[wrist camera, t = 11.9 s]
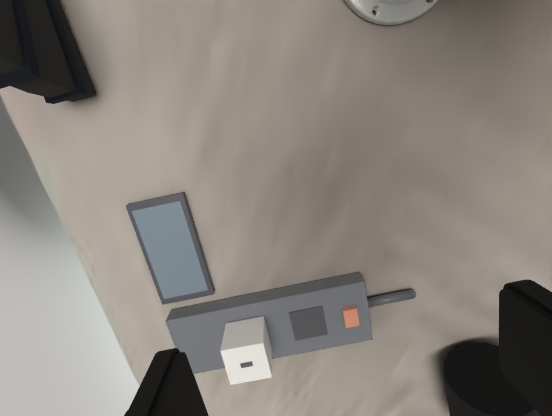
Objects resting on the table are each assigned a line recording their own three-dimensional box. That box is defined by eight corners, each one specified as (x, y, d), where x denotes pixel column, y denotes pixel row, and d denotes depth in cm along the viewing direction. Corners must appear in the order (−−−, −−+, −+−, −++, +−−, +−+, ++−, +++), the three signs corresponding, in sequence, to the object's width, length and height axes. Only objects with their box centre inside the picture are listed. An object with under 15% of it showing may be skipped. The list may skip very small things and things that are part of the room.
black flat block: (72, 133, 32) (-125, 30, 17) (58, 28, 34) (-128, -143, 19) (104, 123, 32) (-66, 12, 17) (88, 19, 34) (-76, -161, 19)
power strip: (410, 261, 39) (422, 273, 36) (415, 317, 42) (427, 333, 39) (171, 309, 41) (163, 324, 38) (190, 361, 43) (184, 379, 40)
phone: (184, 191, 36) (182, 193, 35) (214, 290, 40) (213, 294, 39) (129, 203, 36) (125, 205, 35) (164, 300, 40) (162, 304, 39)
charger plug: (263, 305, 40) (263, 343, 33) (271, 336, 42) (272, 378, 35) (228, 312, 40) (220, 351, 34) (236, 342, 42) (230, 385, 35)
